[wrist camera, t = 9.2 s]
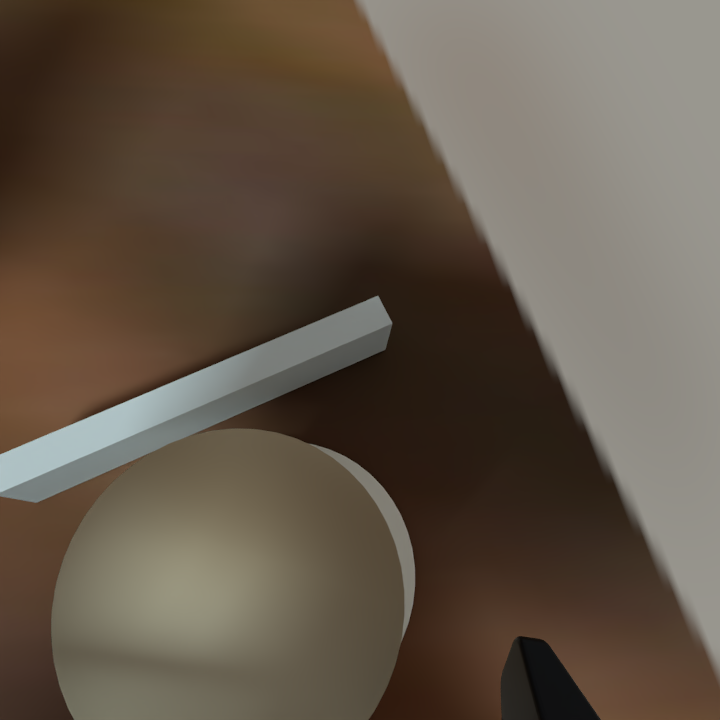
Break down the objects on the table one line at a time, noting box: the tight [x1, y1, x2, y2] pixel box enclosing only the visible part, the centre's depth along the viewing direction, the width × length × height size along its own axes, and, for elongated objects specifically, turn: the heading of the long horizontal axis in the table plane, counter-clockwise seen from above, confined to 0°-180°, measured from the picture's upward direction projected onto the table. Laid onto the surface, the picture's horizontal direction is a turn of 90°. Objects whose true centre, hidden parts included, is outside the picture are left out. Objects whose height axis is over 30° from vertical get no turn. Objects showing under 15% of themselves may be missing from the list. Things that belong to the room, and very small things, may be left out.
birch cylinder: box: [51, 428, 404, 720], centre depth 14 cm, size 5×5×10 cm
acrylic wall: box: [0, 296, 392, 503], centre depth 19 cm, size 12×1×2 cm, turn 115°
